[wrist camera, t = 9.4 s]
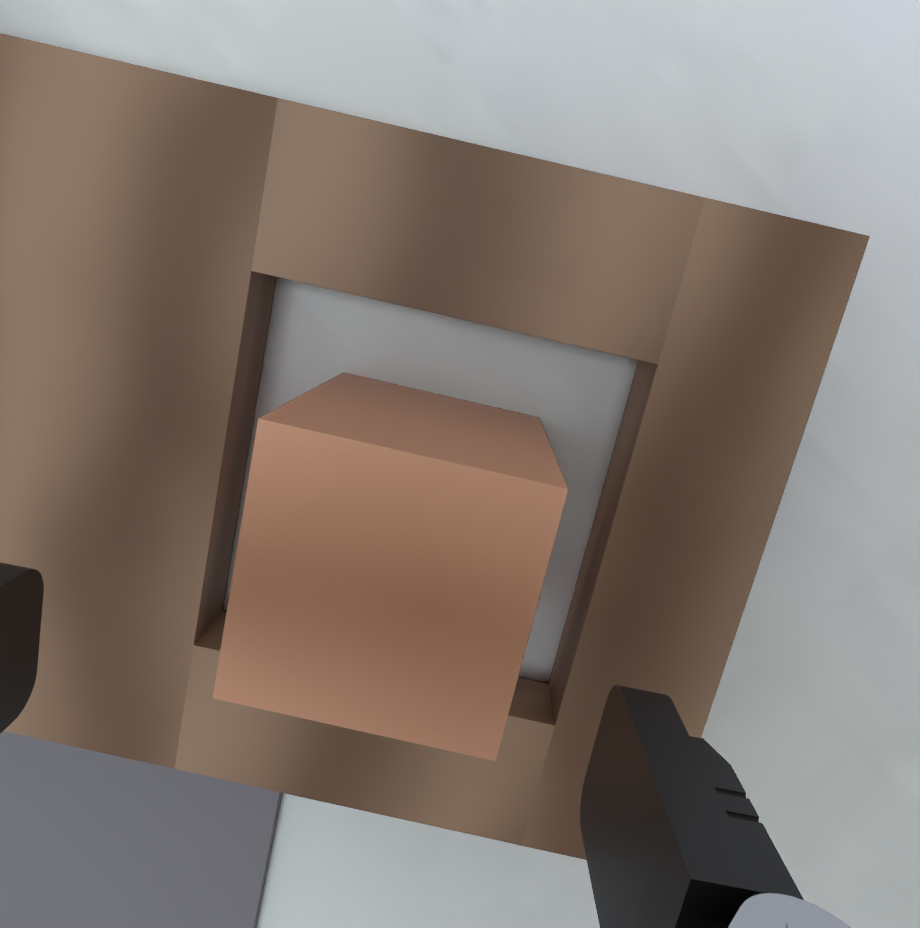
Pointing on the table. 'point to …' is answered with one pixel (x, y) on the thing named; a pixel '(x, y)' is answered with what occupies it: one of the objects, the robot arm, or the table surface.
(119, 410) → the puzzle board
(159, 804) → the charcoal mat
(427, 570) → the terracotta block
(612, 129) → the table surface
